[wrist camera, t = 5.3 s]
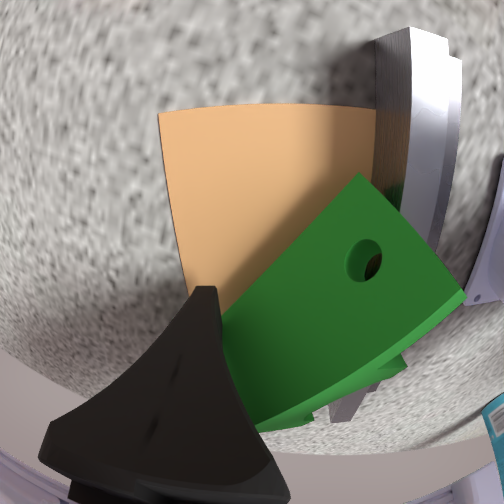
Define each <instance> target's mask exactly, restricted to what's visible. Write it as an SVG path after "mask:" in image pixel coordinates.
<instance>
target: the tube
mask: <svg viewBox="0 0 504 504" xmlns="http://www.w3.org/2000/svg"><path fill="white" fill-rule="evenodd" d="M481 413H482V416H483V419H484V422H485V425H486V428H487V430H488V434H489V437H490V440H491V443H492V447H493V450H494V454H495V458H496V462H497V465H498V470H499V474H500V479H501V484H502V490H503V497H504V393H503V394H501V395H500V396H498V397H497V398H496V399H494V400H493V401H492V402H490V403H489V404H488V405H487V406H486V407H485V408H484V409H483V410H482V412H481Z"/></svg>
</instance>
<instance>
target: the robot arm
mask: <svg viewBox="0 0 504 504" xmlns="http://www.w3.org/2000/svg"><path fill="white" fill-rule="evenodd" d="M464 293H465V294H466V296H467V299H466V300H464V301H463V304H464V305H465V306H470V305H476V304H482V303H488V302H493V301H498V300H501V301H502V302H503V304H504V159H503V162H502V168H501V174H500V179H499V184H498V188H497V193H496V197H495V201H494V205H493V209H492V213H491V217H490V220H489V224H488V227H487V231H486V234H485V237H484V240H483V243H482V246H481V249H480V252H479V255H478V257H477V260H476V263H475V265H474V268H473V271H472V273H471V276H470V278H469V281H468V283H467V285H466V288H465V290H464ZM222 328H223V324H222V318H221V311H220V305H219V298H218V292H217V288H216V286H196V287H195V289H194V290H193V292H192V294H191V296H190V297H189V298H188V300H187V301H186V303H185V304H184V305H183V307H182V308H181V310H180V311H179V312H178V314H177V315H176V316H175V317H174V319H173V320H172V321H171V323H170V324H169V325H168V326H167V328H166V329H165V330H164V331H163V333H162V334H161V335H160V336H159V337H158V338H157V339H156V341H155V342H154V343H153V344H152V345H151V346H150V348H149V349H148V350H147V351H146V352H145V353H144V354H143V355H142V356H141V357H140V358H139V359H138V360H137V361H136V362H135V363H134V364H133V365H132V366H131V367H130V368H129V369H127V370H126V371H125V372H124V373H123V374H122V375H121V376H120V377H118V378H117V379H116V380H115V381H114V382H112V383H111V384H110V385H109V386H107V387H106V388H105V389H103V390H102V391H101V392H99V393H98V394H96V395H95V396H94V397H92V398H91V399H89V400H88V401H87V402H85V403H83V404H82V405H80V406H79V407H77V408H75V409H74V410H72V411H70V412H68V413H67V414H65V415H63V416H61V417H59V418H57V419H56V420H54V421H51V422H50V424H49V426H48V429H47V432H46V434H45V437H44V440H43V443H42V445H41V449H40V451H39V454H38V459H39V460H40V462H42V463H43V464H45V465H46V466H48V467H49V468H51V469H53V470H55V471H56V472H58V473H60V474H62V475H64V476H65V477H67V478H69V479H71V480H72V481H71V485H70V487H69V486H67V485H65V484H62V483H60V482H58V481H56V480H54V479H52V478H50V477H48V476H46V475H44V474H42V473H40V472H39V471H37V470H35V469H33V468H32V467H30V466H28V465H26V464H25V463H23V462H21V461H20V460H18V459H17V458H15V457H13V456H12V455H10V454H9V453H8V452H6V451H5V450H3V449H1V448H0V504H69V503H70V504H287V503H288V502H289V501H290V499H291V496H290V491H289V489H288V487H287V484H286V482H285V480H284V478H283V476H282V474H281V472H280V470H279V468H278V466H277V464H276V462H275V460H274V458H273V456H272V454H271V452H270V451H269V449H268V448H267V446H266V445H265V443H264V441H263V440H262V438H261V436H260V435H259V433H258V431H257V429H256V428H255V426H254V424H253V422H252V420H251V418H250V417H249V415H248V413H247V411H246V408H245V406H244V404H243V402H242V400H241V398H240V396H239V394H238V391H237V389H236V387H235V384H234V382H233V379H232V377H231V374H230V371H229V368H228V366H227V363H226V360H225V356H224V353H223V341H222ZM403 504H504V498H503V493H502V489H501V484H500V480H499V476H498V472H497V468H496V465H495V462H494V461H493V462H490V463H489V464H487V465H485V466H484V467H482V468H480V469H478V470H477V471H475V472H473V473H471V474H469V475H467V476H465V477H463V478H461V479H459V480H458V481H456V482H454V483H452V484H451V485H448V486H446V487H444V488H442V489H439V490H437V491H435V492H432V493H430V494H428V495H425V496H423V497H421V498H418V499H415V500H412V501H410V502H406V503H403Z"/></svg>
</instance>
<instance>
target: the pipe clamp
mask: <svg viewBox="0 0 504 504" xmlns="http://www.w3.org/2000/svg"><path fill="white" fill-rule="evenodd" d="M379 253H382V263H381V266H380V269H379V270H378V272H377V273H376V275H375V276H374V277H372V278H371V279H369V280H368V281H365V276H364V273H365V268H366V265H367V263H368V262H369V260H370V259H371V258H372V257H373V256H375V255H376V254H379ZM466 299H467V296H466V294H465V293H464V291H463V290H462V288H461V287H460V285H459V284H458V283H457V281H456V280H455V279H454V277H453V276H452V275H451V273H450V272H449V271H448V269H447V268H446V267H445V265H444V264H443V263H442V262H441V260H440V259H439V258H438V257H437V255H436V254H435V253H434V252H433V250H432V249H431V248H430V247H429V246H428V244H427V243H426V242H425V241H424V240H423V238H422V237H421V236H420V235H419V234H418V233H417V232H416V230H415V229H414V228H413V227H412V226H411V225H410V224H409V222H408V221H407V220H406V219H405V218H404V217H403V216H402V215H401V214H400V213H399V212H398V211H397V209H396V208H395V207H394V206H393V205H392V204H391V203H390V202H389V201H388V200H387V199H386V198H385V197H384V196H383V195H382V194H381V193H380V192H379V191H378V190H377V189H376V188H375V187H374V186H373V185H372V184H371V183H370V182H369V181H368V180H367V179H366V178H365V177H364V176H363V175H362V174H361V173H360V172H358V173H357V174H356V175H355V177H354V178H353V179H352V180H351V181H350V182H349V183H348V184H347V185H346V186H345V187H344V188H343V190H342V191H341V192H340V193H339V194H338V195H337V196H336V197H335V198H334V199H333V200H332V201H331V202H330V204H329V205H328V206H327V207H326V208H325V209H324V210H323V211H322V212H321V213H320V214H319V215H318V216H317V217H316V218H315V220H314V221H313V222H312V223H311V224H310V225H309V226H308V227H307V228H306V229H305V230H304V231H303V232H302V233H301V234H300V235H299V236H298V237H297V239H296V240H295V241H294V242H293V243H292V244H291V245H290V246H289V247H288V248H287V249H286V250H285V251H284V252H283V253H282V254H281V255H280V256H279V257H278V258H277V259H276V260H275V261H274V263H273V264H272V265H271V266H270V267H269V268H268V269H267V270H266V271H265V272H264V273H263V274H262V275H261V276H260V277H259V278H258V279H257V280H256V281H255V282H254V283H253V284H252V285H251V286H250V287H249V288H248V289H247V290H246V291H245V292H244V293H243V294H242V295H241V296H240V297H239V298H238V299H237V300H236V301H235V302H234V303H233V304H232V305H231V306H230V307H229V308H228V309H227V310H226V311H225V312H224V313H223V314H222V315H221V318H222V324H223V328H222V341H223V353H224V356H225V360H226V363H227V366H228V368H229V371H230V374H231V377H232V379H233V382H234V384H235V387H236V389H237V391H238V394H239V396H240V398H241V400H242V402H243V404H244V406H245V408H246V411H247V413H248V415H249V417H250V418H251V420H252V422H253V424H254V426H255V428H256V429H257V431H258V433H261V432H269V431H275V430H282V429H288V428H293V427H299V426H303V425H305V424H307V423H309V422H312V421H314V417H313V414H312V412H314V411H316V410H318V409H319V408H321V407H323V406H325V405H327V404H329V403H331V402H334V401H336V400H338V399H340V398H342V397H344V396H346V395H349V394H351V393H353V392H355V391H357V390H360V389H362V388H364V387H367V386H369V385H372V384H374V383H377V382H379V381H382V380H385V379H389V378H391V377H393V376H395V375H396V374H398V373H399V372H401V371H402V370H404V369H405V368H406V367H407V365H406V363H405V361H404V359H403V357H402V355H401V352H403V351H404V350H405V349H407V348H408V347H409V346H411V345H412V344H413V343H415V342H416V341H417V340H419V339H420V338H421V337H422V336H424V335H425V334H426V333H428V332H429V331H430V330H431V329H432V328H434V327H435V326H436V325H437V324H439V323H440V322H441V321H442V320H443V319H444V318H446V317H447V316H448V315H449V314H450V313H451V312H452V311H454V310H455V309H456V308H457V307H458V306H459V305H460V304H461V303H462V302H463V301H464V300H466Z"/></svg>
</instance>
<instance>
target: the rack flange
mask: <svg viewBox="0 0 504 504" xmlns="http://www.w3.org/2000/svg"><path fill="white" fill-rule="evenodd" d="M375 62H376V108H375V109H368V108H359V107H348V106H336V105H320V104H243V105H227V106H214V107H203V108H194V109H186V110H178V111H171V112H164V113H158V115H159V125H160V133H161V142H162V150H163V157H164V164H165V172H166V178H167V185H168V191H169V197H170V203H171V209H172V215H173V221H174V226H175V232H176V237H177V242H178V247H179V252H180V257H181V262H182V267H183V272H184V276H185V281H186V285H187V290H188V294H189V297H190V296H191V294H192V292H193V290H194V289H195V287H196V286H216V288H217V292H218V298H219V305H220V311H221V315H222V314H223V313H224V312H225V311H226V310H227V309H228V308H229V307H230V306H231V305H232V304H233V303H234V302H235V301H236V300H237V299H238V298H239V297H240V296H241V295H242V294H243V293H244V292H245V291H246V290H247V289H248V288H249V287H250V286H251V285H252V284H253V283H254V282H255V281H256V280H257V279H258V278H259V277H260V276H261V275H262V274H263V273H264V272H265V271H266V270H267V269H268V268H269V267H270V266H271V265H272V264H273V263H274V261H275V260H276V259H277V258H278V257H279V256H280V255H281V254H282V253H283V252H284V251H285V250H286V249H287V248H288V247H289V246H290V245H291V244H292V243H293V242H294V241H295V240H296V239H297V237H298V236H299V235H300V234H301V233H302V232H303V231H304V230H305V229H306V228H307V227H308V226H309V225H310V224H311V223H312V222H313V221H314V220H315V218H316V217H317V216H318V215H319V214H320V213H321V212H322V211H323V210H324V209H325V208H326V207H327V206H328V205H329V204H330V202H331V201H332V200H333V199H334V198H335V197H336V196H337V195H338V194H339V193H340V192H341V191H342V190H343V188H344V187H345V186H346V185H347V184H348V183H349V182H350V181H351V180H352V179H353V178H354V177H355V175H356V174H357V173H358V172H360V173H361V174H362V175H363V176H364V177H365V178H366V179H367V180H368V181H369V182H370V183H371V184H372V185H373V186H374V187H375V188H376V189H377V190H378V191H379V192H380V193H381V194H382V195H383V196H384V197H385V198H386V199H387V200H388V201H389V202H390V203H391V204H392V205H393V206H394V207H395V208H396V209H397V211H398V212H399V213H400V214H401V215H402V216H403V217H404V218H405V219H406V220H407V221H408V222H409V224H410V225H411V226H412V227H413V228H414V229H415V230H416V232H417V233H418V234H419V235H420V236H421V237H422V238H423V240H424V241H425V242H426V243H427V244H428V246H429V247H430V248H431V249H432V250H433V252H434V253H435V251H436V248H437V245H438V241H439V238H440V234H441V230H442V226H443V222H444V218H445V214H446V210H447V205H448V201H449V196H450V191H451V186H452V181H453V175H454V169H455V162H456V155H457V147H458V139H459V128H460V115H461V88H462V76H461V60H459V59H456V58H453V57H451V56H448V41H447V39H445V38H443V37H440V36H437V35H434V34H431V33H428V32H425V31H422V30H419V29H416V28H412V27H407V28H404V29H401V30H399V31H396V32H393V33H390V34H387V35H385V36H382V37H380V38H377V39H375ZM381 263H382V253H379V254H376V255H375V256H373V257H372V258H371V259H370V260H369V262H368V263H367V265H366V268H365V273H364V276H365V281H368V280H369V279H371V278H372V277H374V276H375V275H376V273H377V272H378V270H379V269H380V266H381ZM380 382H381V381H379V382H377V383H374V384H372V385H369V386H367V387H364V388H362V389H360V390H357V391H355V392H353V393H351V394H349V395H346V396H344V397H342V398H340V399H338V400H336V401H334V402H331V403H329V404H328V406H329V414H330V422H331V423H339V422H347V421H351V419H352V417H353V416H354V414H355V412H356V411H357V409H358V407H359V405H360V404H361V402H362V400H363V398H364V397H365V395H366V393H368V392H374V391H376V389H377V387H378V385H379V384H380Z"/></svg>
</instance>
